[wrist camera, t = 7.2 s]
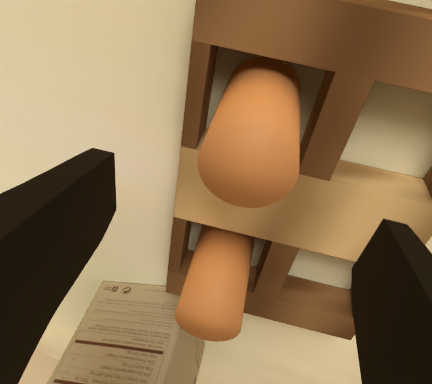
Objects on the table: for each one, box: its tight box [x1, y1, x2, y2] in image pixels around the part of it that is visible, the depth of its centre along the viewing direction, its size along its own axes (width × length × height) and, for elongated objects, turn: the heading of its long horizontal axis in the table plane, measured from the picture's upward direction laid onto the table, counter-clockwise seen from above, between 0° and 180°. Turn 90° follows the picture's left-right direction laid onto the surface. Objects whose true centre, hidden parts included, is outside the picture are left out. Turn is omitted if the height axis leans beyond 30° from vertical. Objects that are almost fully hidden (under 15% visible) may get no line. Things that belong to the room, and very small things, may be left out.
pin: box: [175, 224, 255, 341], centre depth 19 cm, size 3×3×6 cm
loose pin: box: [197, 56, 300, 208], centre depth 14 cm, size 3×3×6 cm
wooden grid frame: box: [166, 0, 432, 340], centre depth 18 cm, size 12×18×2 cm, turn 171°
